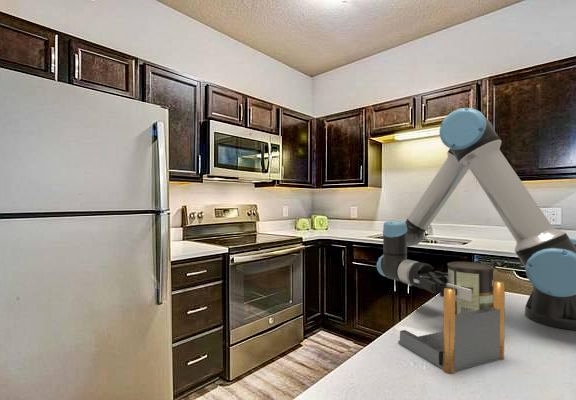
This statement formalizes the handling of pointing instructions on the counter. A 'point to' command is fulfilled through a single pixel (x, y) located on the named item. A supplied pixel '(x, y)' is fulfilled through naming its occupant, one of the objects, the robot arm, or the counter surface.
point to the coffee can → (472, 284)
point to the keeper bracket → (463, 335)
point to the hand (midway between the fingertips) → (486, 292)
